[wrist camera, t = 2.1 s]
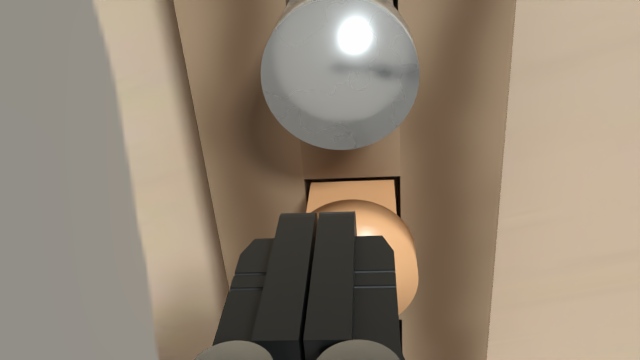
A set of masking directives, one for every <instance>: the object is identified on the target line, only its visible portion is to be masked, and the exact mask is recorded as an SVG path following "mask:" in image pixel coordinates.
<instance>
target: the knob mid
mask: <svg viewBox="0 0 640 360" xmlns="http://www.w3.org/2000/svg"><path fill="white" fill-rule="evenodd" d="M345 211H355V213H356V228H357V236H379V235H382V236H383V237H384V238H385V240H386V241H387V242H388V244H389V245H390V246H391V248H392V249H393V250H394V258H395V273H396V288H397V300H398V314H399V315H400V314H401V313H402V312H403V311H404V310H405V309H406V308H407V307H408V306H409V305H410V303H411V301H412V300H413V298H414V296H415V294H416V291H417V287H418V279H419V278H418V268H417V259H416V251H415V243H414V239H413V236H412V234H411V231H410V230H409V228H408V226H407V225H406V224H405V222H404V221H403V220H402V219H401V218H400V217H399V216H398V215H397V212H396V199H395V187H394V180H371V181H341V182H312V183H311V186H310V192H309V198H308V204H307V210H306V213H315V212H316V213H317V216H318V217H319V212H345Z"/></svg>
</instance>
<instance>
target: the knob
mask: <svg viewBox="0 0 640 360" xmlns="http://www.w3.org/2000/svg"><path fill="white" fill-rule="evenodd" d="M419 77H420V73H419V62H418V58H417V53H416V49H415V45H414V40H413V37H412V34H411V31H410V29H409V27H408V25H407V23H406V21H405V19H404V18H403V17H402V15H401V14H400V12H399V11H398V10H397V9H396V8H395V7H394V6H393V0H289V2H288V4H287V6H286V8H285V10H284V13H283V15H282V16H281V17H280V19H279V20H278V22H277V24H276V26H275V28H274V30H273V32H272V34H271V36H270V38H269V40H268V42H267V45H266V47H265V50H264V53H263V57H262V62H261V85H262V90H263V94H264V97H265V100H266V102H267V104H268V106H269V108H270V110H271V112H272V113H273V115H274V116H275V118H276V119H277V120H278V121H279V123H280V124H281V125H282V126H283V127H284V128H285V129H286V130H287V131H289V132H290V133H291V134H293V135H294V136H295V137H297V138H299V139H301V140H302V141H304V142H306V143H309V144H311V145H314V146H317V147H321V148H325V149H332V150H348V149H356V148H360V147H364V146H367V145H370V144H373V143H375V142H377V141H379V140H381V139H383V138H384V137H386V136H387V135H389V134H390V133H391V132H392V131H394V130H395V129H396V128H397V127H398V126H399V125H400V124H401V123H402V121H403V120H404V119H405V117H406V116H407V115H408V113H409V111H410V110H411V108H412V106H413V104H414V101H415V98H416V95H417V91H418V87H419Z"/></svg>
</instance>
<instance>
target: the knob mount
mask: <svg viewBox="0 0 640 360" xmlns="http://www.w3.org/2000/svg"><path fill="white" fill-rule="evenodd" d="M173 2H174V7H175V12H176V17H177V23H178V28H179V33H180V38H181V43H182V48H183V54H184V59H185V64H186V69H187V74H188V79H189V85H190V90H191V95H192V100H193V105H194V110H195V116H196V121H197V126H198V131H199V136H200V141H201V147H202V152H203V157H204V162H205V167H206V172H207V178H208V183H209V188H210V193H211V198H212V203H213V209H214V214H215V219H216V224H217V229H218V234H219V240H220V245H221V250H222V255H223V260H224V265H225V271H226V276H227V281H228V286H229V291H230V286H231V283H232V279H233V276H235V269H236V266H237V263H238V260H239V256H240V254H241V253H242V252H243V251H244V250H245V249H246V248H247V247H248V246H249V244H250V243H251V242H252V241H253V240H254V239H263V238H275V233H276V229H277V225H278V220H279V216H280V214H281V213H306V210H307V204H308V198H309V192H310V186H311V183H312V182H341V181H371V180H394V187H395V199H396V212H397V215H398V216H399V217H400V218H401V219H402V220H403V221H404V222H405V224H406V225H407V226H408V228H409V230H410V231H411V234H412V236H413V239H414V243H415V251H416V259H417V268H418V278H419V279H418V287H417V291H416V294H415V296H414V298H413V300H412V301H411V303H410V305H409V306H408V307H407V308H406V309H405V310H404V311H403V312H402V313H401V314H400V315H399V329H400V343H401V350H402V353H403V356H404V358H405V360H486V359H487V347H488V335H489V323H490V311H491V299H492V287H493V275H494V262H495V250H496V238H497V226H498V214H499V202H500V190H501V178H502V166H503V154H504V142H505V130H506V118H507V105H508V93H509V81H510V69H511V57H512V45H513V33H514V21H515V9H516V0H393V6H394V7H395V8H396V9H397V10H398V11H399V12H400V14H401V15H402V17H403V18H404V19H405V21H406V23H407V25H408V27H409V29H410V31H411V34H412V37H413V40H414V45H415V49H416V53H417V58H418V62H419V73H420V77H419V87H418V91H417V95H416V98H415V101H414V104H413V106H412V108H411V110H410V111H409V113H408V115H407V116H406V117H405V119H404V120H403V121H402V123H401V124H400V125H399V126H398V127H397V128H396V129H395V130H394V131H392V132H391V133H390V134H389V135H387V136H386V137H384V138H383V139H381V140H379V141H377V142H375V143H373V144H370V145H367V146H364V147H360V148H356V149H348V150H332V149H325V148H321V147H317V146H314V145H311V144H309V143H306V142H304V141H302V140H301V139H299V138H297V137H295V136H294V135H293V134H291V133H290V132H289V131H287V130H286V129H285V128H284V127H283V126H282V125H281V124H280V123H279V121H278V120H277V119H276V118H275V116H274V115H273V113H272V112H271V110H270V108H269V106H268V104H267V102H266V100H265V97H264V94H263V90H262V85H261V62H262V57H263V53H264V50H265V47H266V45H267V42H268V40H269V38H270V36H271V34H272V32H273V30H274V28H275V26H276V24H277V22H278V20H279V19H280V17H281V16H282V15H283V13H284V10H285V8H286V6H287V4H288V2H289V0H173Z"/></svg>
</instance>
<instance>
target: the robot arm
mask: <svg viewBox="0 0 640 360" xmlns="http://www.w3.org/2000/svg"><path fill="white" fill-rule="evenodd" d="M194 360H405V358H404V356H403V353H402V350H401V343H400V329H399V314H398V300H397V288H396V273H395V258H394V250H393V249H392V248H391V246H390V245H389V244H388V242H387V241H386V240H385V238H384V237H383V236H382V235H379V236H357V228H356V213H355V211H345V212H319V217H318V216H317V213H316V212H315V213H281V214H280V216H279V220H278V225H277V229H276V233H275V238H263V239H254V240H253V241H252V242H251V243H250V244H249V246H248V247H247V248H246V249H245V250H244V251H243V252H242V253H241V254H240V256H239V260H238V263H237V266H236V269H235V276H233V279H232V283H231V286H230V291H229V293H228V296H227V299H226V303H225V306H224V309H223V313H222V316H221V319H220V322H219V326H218V329H217V332H216V336H215V339H214V342H213V346H212V347H210V348H208V349H206V350H205V351H203V352H202V353H201V354H199V355H198V356H197V357H196V358H195V359H194Z"/></svg>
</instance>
